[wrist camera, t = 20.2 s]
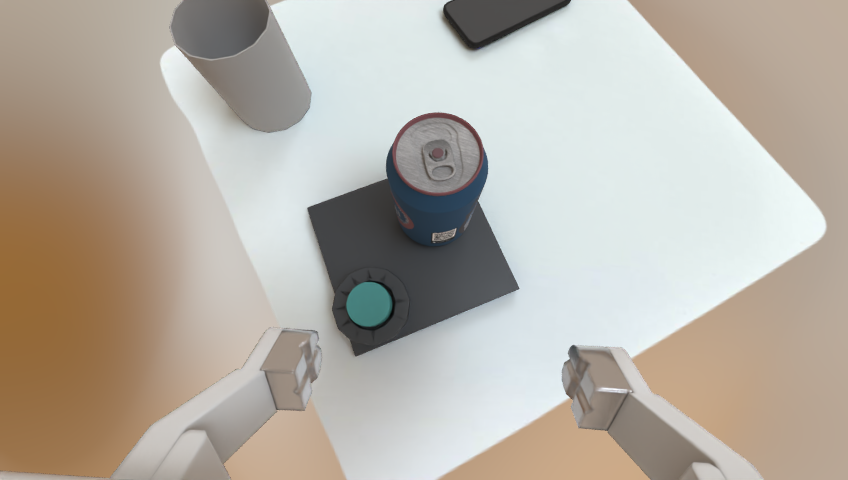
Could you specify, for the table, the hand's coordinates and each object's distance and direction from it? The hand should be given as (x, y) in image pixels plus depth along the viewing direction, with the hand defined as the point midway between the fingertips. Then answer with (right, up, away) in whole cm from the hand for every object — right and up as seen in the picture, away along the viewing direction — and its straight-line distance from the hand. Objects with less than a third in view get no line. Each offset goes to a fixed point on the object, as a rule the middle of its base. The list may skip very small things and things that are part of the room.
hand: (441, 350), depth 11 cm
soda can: (0, +6, +22) cm, 22 cm away
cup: (-18, +19, +27) cm, 37 cm away
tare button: (-5, -2, +18) cm, 19 cm away
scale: (-2, +3, +22) cm, 22 cm away
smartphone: (+10, +32, +30) cm, 45 cm away
